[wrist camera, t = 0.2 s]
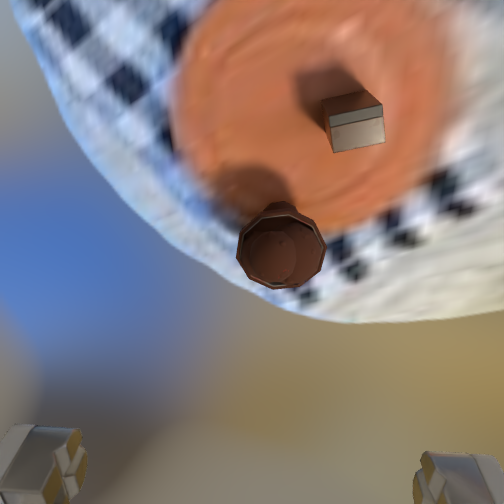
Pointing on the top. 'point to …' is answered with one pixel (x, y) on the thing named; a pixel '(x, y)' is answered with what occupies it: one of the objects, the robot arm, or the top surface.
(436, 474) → the robot arm
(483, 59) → the top surface
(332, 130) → the eraser
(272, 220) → the ice cream bowl
